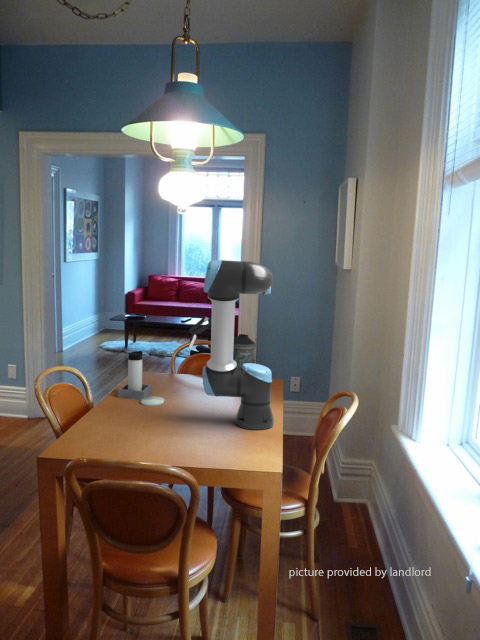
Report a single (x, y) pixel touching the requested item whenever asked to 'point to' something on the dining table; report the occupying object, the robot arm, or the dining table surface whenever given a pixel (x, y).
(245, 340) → the beer stein
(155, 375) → the dining table surface
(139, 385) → the travel mug
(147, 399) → the disc
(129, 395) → the square frame
